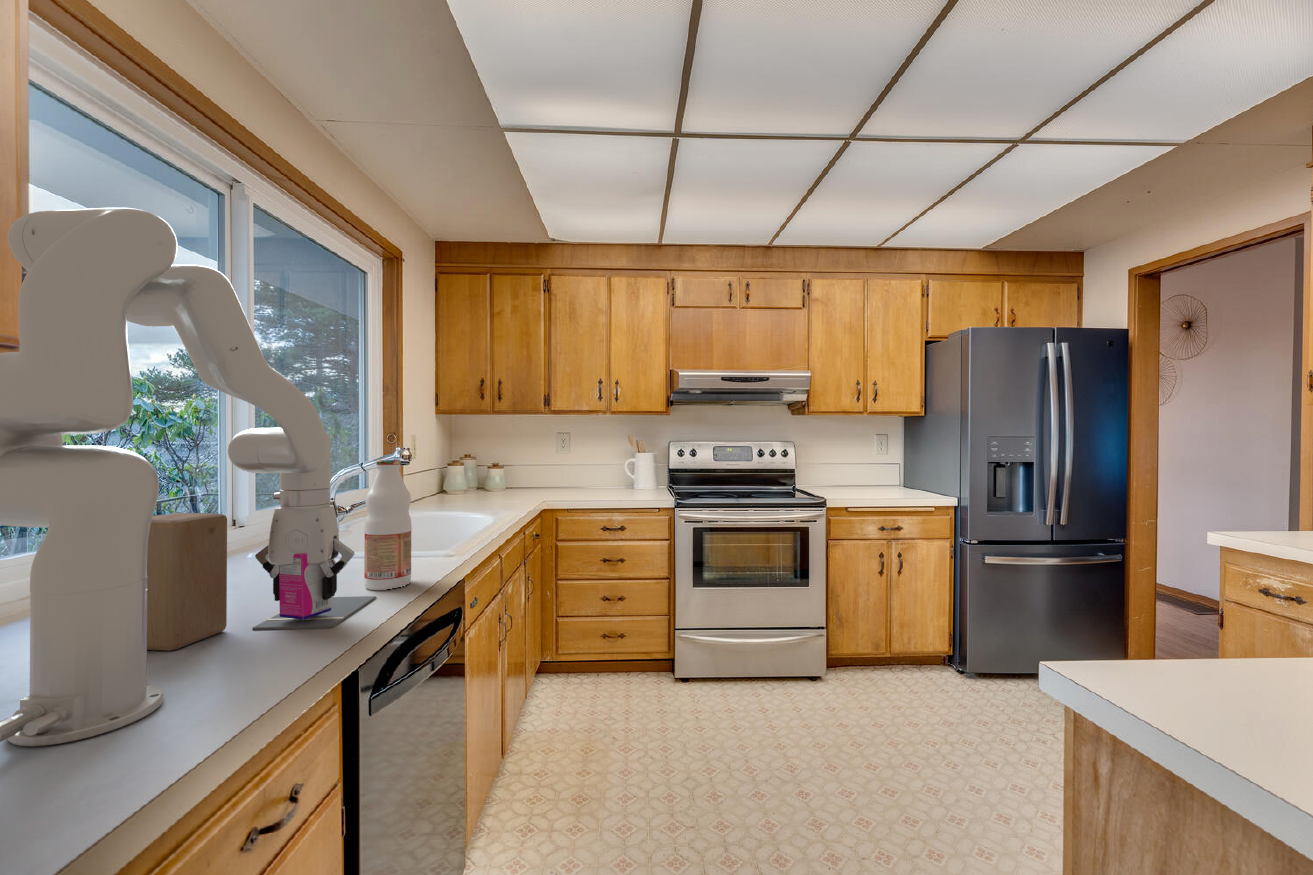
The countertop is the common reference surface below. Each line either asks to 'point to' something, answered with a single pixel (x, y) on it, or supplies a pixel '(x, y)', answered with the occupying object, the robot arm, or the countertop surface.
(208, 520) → the wooden block
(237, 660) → the countertop surface
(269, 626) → the mat
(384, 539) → the fruit juice
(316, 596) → the supplement box
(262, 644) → the countertop surface
